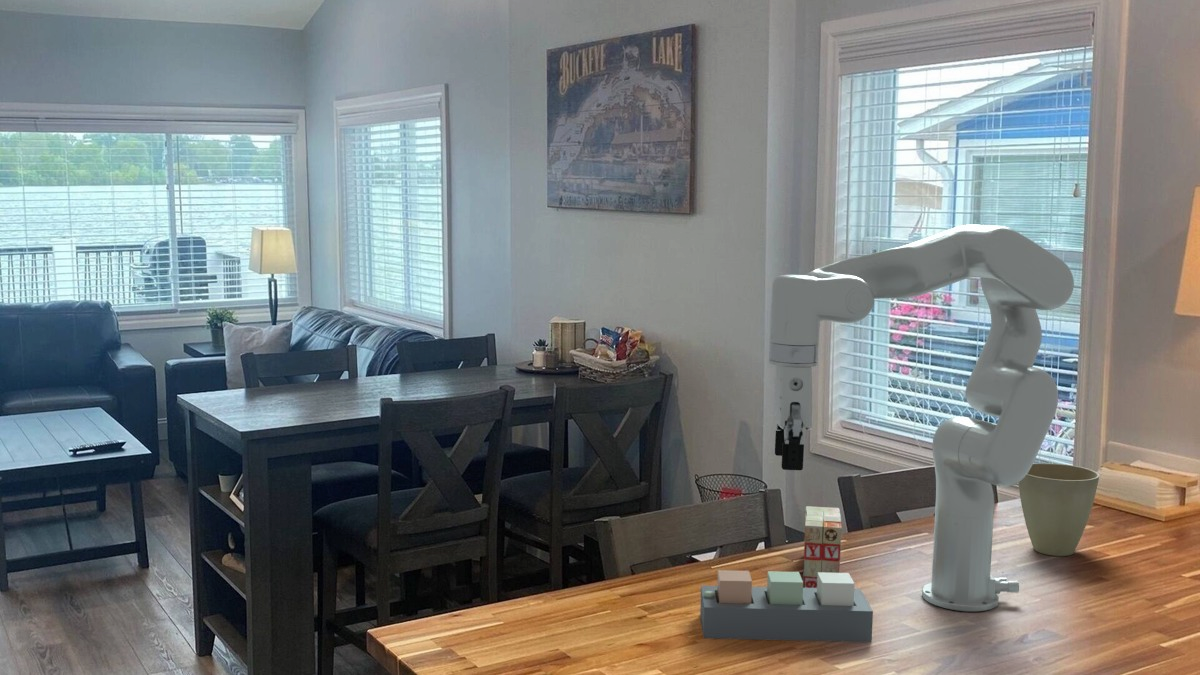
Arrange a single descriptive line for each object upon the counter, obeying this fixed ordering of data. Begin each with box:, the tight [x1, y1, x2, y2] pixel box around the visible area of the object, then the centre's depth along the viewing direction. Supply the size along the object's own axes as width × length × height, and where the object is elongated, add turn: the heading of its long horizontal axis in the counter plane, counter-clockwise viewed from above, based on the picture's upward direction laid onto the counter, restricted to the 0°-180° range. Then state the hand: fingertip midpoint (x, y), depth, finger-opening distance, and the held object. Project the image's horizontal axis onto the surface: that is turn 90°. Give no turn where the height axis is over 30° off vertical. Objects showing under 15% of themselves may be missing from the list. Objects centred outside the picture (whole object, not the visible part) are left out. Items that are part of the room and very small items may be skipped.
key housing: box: [699, 585, 874, 643], centre depth 183 cm, size 26×10×6 cm, turn 88°
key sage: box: [766, 570, 803, 605], centre depth 183 cm, size 5×5×5 cm
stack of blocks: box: [802, 505, 843, 588], centre depth 209 cm, size 21×6×12 cm, turn 169°
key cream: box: [817, 572, 855, 606], centre depth 182 cm, size 5×5×5 cm
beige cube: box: [716, 569, 753, 604], centre depth 183 cm, size 5×5×5 cm
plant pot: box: [1017, 462, 1100, 557], centre depth 224 cm, size 15×15×16 cm
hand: (788, 462), depth 180 cm, fingers open, 9 cm apart
